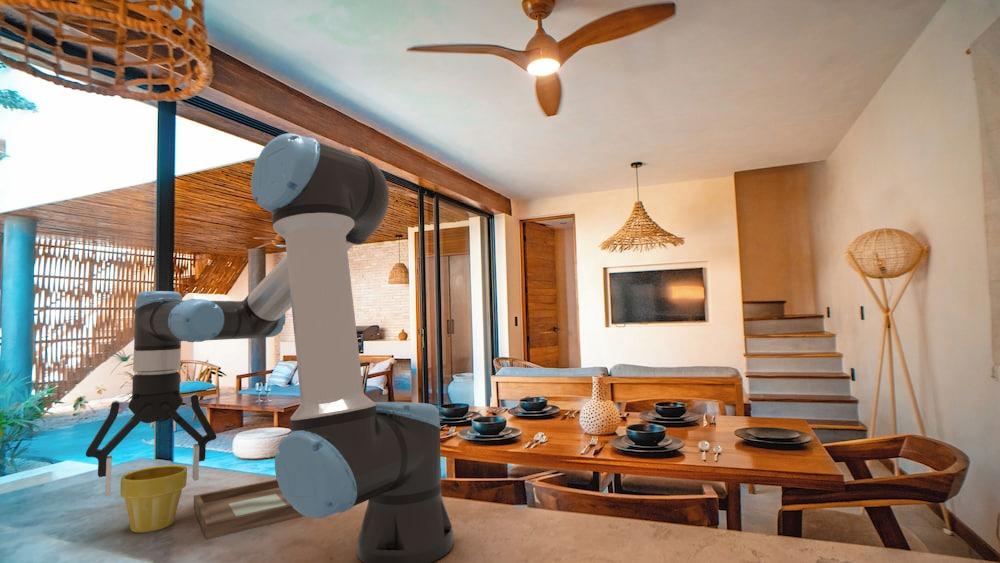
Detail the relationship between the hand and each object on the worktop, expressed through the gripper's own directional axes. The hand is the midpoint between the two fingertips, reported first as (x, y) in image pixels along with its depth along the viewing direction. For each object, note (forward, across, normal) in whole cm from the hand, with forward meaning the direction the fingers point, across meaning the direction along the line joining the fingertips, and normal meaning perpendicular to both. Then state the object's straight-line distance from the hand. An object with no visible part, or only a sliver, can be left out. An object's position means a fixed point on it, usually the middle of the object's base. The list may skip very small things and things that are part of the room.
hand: (153, 486), depth 96 cm
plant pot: (+7, 0, 0) cm, 7 cm away
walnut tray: (+7, -17, +4) cm, 19 cm away
